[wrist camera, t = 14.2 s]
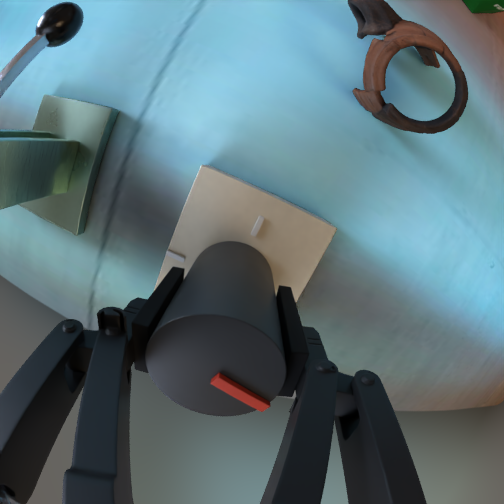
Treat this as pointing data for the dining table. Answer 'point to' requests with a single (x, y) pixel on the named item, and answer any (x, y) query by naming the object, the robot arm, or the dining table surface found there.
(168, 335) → the tap knob
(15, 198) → the grey metal lever stand
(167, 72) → the dining table surface
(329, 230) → the panel
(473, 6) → the milk carton
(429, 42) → the broken clay pot
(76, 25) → the tap lever
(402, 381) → the dining table surface
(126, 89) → the dining table surface
